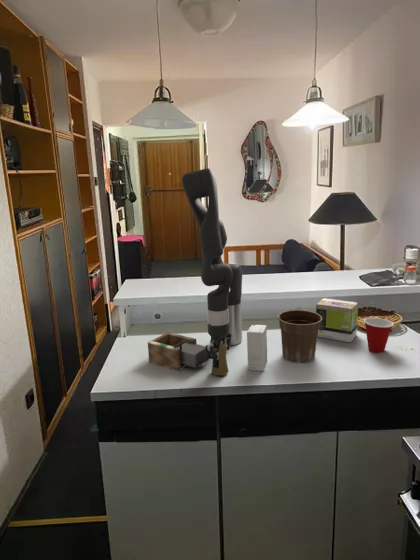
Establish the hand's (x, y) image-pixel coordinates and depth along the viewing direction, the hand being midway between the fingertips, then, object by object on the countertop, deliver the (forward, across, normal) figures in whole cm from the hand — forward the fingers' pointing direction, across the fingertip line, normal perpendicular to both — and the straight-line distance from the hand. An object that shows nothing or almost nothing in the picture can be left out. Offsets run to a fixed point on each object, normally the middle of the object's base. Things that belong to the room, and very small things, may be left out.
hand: (219, 365), depth 152 cm
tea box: (+4, -53, +25) cm, 58 cm away
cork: (+2, 0, 0) cm, 2 cm away
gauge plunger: (+1, +1, -12) cm, 12 cm away
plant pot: (+3, -27, +19) cm, 33 cm away
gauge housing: (+3, 0, -21) cm, 21 cm away
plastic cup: (+3, -47, +43) cm, 64 cm away
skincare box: (+3, -12, +9) cm, 15 cm away
